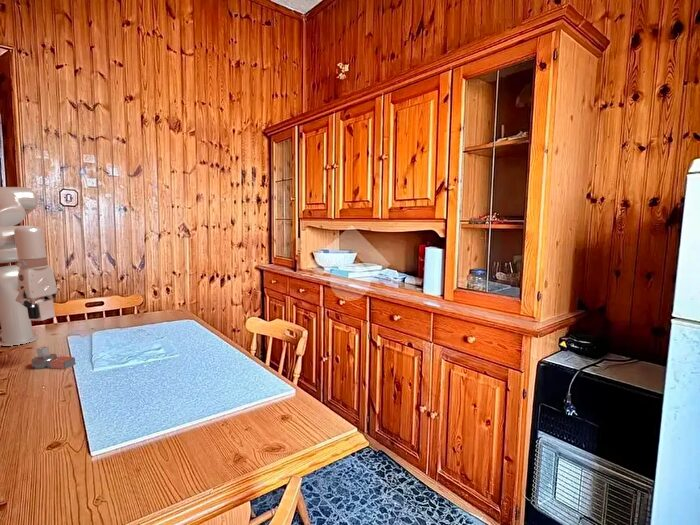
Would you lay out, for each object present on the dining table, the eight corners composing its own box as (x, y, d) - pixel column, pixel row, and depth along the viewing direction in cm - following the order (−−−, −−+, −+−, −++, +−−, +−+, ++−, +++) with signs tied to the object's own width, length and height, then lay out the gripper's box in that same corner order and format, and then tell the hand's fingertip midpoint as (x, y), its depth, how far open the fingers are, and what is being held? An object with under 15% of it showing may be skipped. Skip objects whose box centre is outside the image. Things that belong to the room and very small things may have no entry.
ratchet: (79, 362, 140) (76, 345, 139) (61, 371, 133) (58, 352, 132) (46, 360, 143) (43, 343, 142) (27, 368, 136) (24, 351, 135)
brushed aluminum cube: (29, 320, 135) (26, 303, 134) (43, 316, 140) (40, 299, 139) (41, 320, 134) (38, 303, 133) (55, 316, 139) (52, 299, 138)
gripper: (17, 267, 125) (26, 324, 128) (65, 259, 142) (72, 309, 144) (-3, 268, 127) (7, 323, 129) (47, 259, 143) (55, 309, 146)
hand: (41, 315), depth 137 cm, fingers closed on brushed aluminum cube, 5 cm apart
